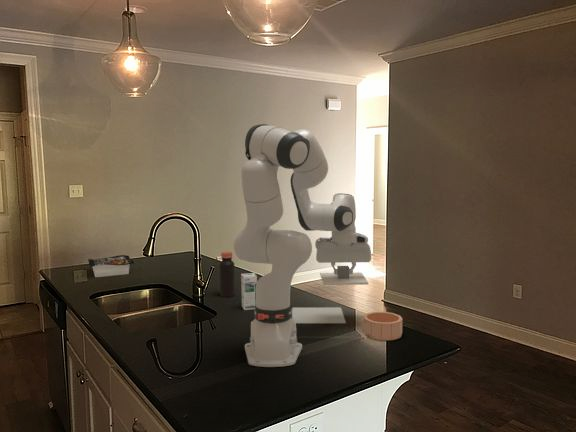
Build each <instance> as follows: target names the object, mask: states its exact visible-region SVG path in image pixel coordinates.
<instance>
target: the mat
mask: <svg viewBox="0 0 576 432" xmlns="http://www.w3.org/2000/svg"><path fill="white" fill-rule="evenodd" d="M291 309H292V313H291V314H292V316H291V318H292V319H293V320H294V321H295V322H296V324H347V322H346V319H345V316H344V313H343V310H342V309H343V308H342V307H340V306H339V307H337V306H335V307H331V306H330V307H327V306H326V307H291Z"/></svg>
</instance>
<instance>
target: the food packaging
mask: <svg viewBox="0 0 576 432" xmlns="http://www.w3.org/2000/svg"><path fill="white" fill-rule="evenodd" d="M87 260H88V265H89V267H90V268H92V271H93V274H94V277H95V278H102V277H112V276H125V275H130V274H129V273H130V266H131V265H133V264H135V262H134V260H133V259H131V258H130V256H129V255H128V254H127V255H125V254H121V255H119V254H118V255H114V256H109V257H103V258H96V259H95V258H94V259H93V258H88V259H87Z"/></svg>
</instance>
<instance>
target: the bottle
mask: <svg viewBox="0 0 576 432" xmlns="http://www.w3.org/2000/svg"><path fill="white" fill-rule="evenodd" d="M220 256H221V257H220V258H221V261H220V262H219V295H220V297H222V298H231V297H234V296H235V295H236V287H235V286H236V283H235V282H236V280H235V279H236V278H235V277H236V276H235V275H236V274H235V273H236V272H235V262H234V261H233V260H232V259H233V252H231V251H222V252H221V255H220Z"/></svg>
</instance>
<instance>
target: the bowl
mask: <svg viewBox="0 0 576 432" xmlns="http://www.w3.org/2000/svg"><path fill="white" fill-rule="evenodd" d="M363 332H364V334H365V336H366V337H367V338H369V339H372V340H376V341H384V342H385V341H389V342H390V341H395V340H398V339H401V338H402V335H403V317H402V316H401V315H400V314H396V313H394V312H390V311H389V312H387V311H373V312H369V313H366V314H364V315H363Z"/></svg>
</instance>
